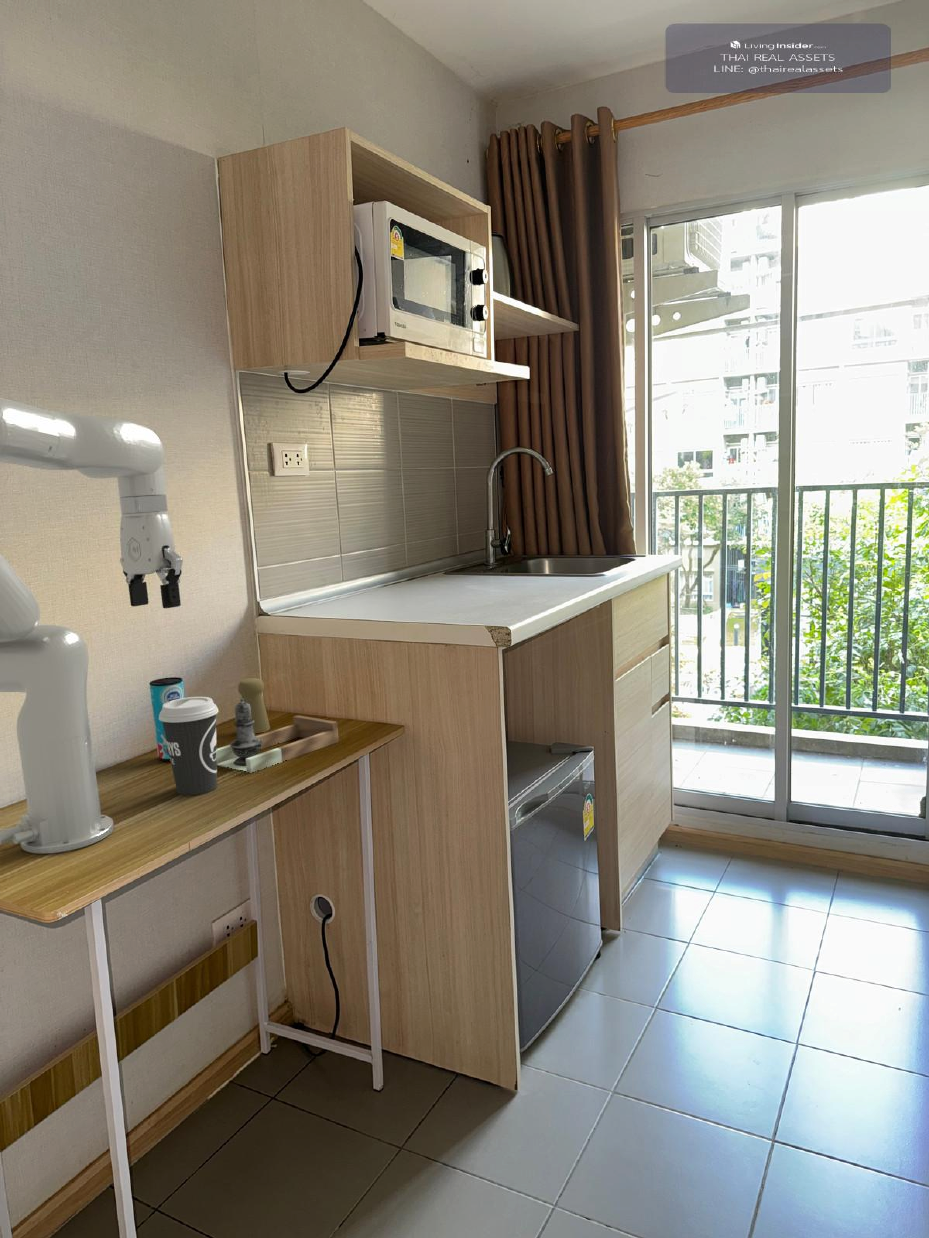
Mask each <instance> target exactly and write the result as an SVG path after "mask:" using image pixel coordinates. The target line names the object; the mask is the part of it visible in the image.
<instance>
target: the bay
mask: <svg viewBox="0 0 929 1238" xmlns="http://www.w3.org/2000/svg"><path fill="white" fill-rule="evenodd" d="M338 727H339V726H338V721H334V720H328V719H321V718H317V717H316V718H315V717H310V716H305V715H298V714H297V715H294V716H293V723H292V724H290V725H287V726H284V727H280V728H278V729H274V730H271V731H269V732H268V731H267V732H264V733H260V734H257V735H255V737H256V738H259V739H262V740H263V742H262V743H261V750H263V749H266V748H269V746H270V747H274V746H276V745H279V744H281V743H285V742H288V741H290V740H293V739H297V738H302V739H299V740H296V741H293V742H291V743H287V744H284V745H281V746H279V747H276V748H273V749H269V750H267V751H264V752H261V753H258V754H257V755H255V756H252V757H249V758H246V766H236V765H234V763H233V762H234V761H235V760H236V759H238V758H240V757H238V756H236V755H235V754H234V753H233V751H232V747H230V744H227V745H225V746H222V747H219V748H218V747H217V748H216V752H217V766H219V767H222V768H227V767H229V768H228V769H231V768H232V770H235V769H236V771H240V770H243V771H242V772H244V771H246V772H245V773H248V772H249V774H253V773H252V772H254V773H256V772H258V771H257V770H259V771H262V770H265V769H267V768H270V767H273V766H275V764H276V765H278V764H277V763H279V764H281V763H284V762H286V761H285V760H287V761H289V760H293V759H295V758H298V757H300V756H303V755H306V754H309V753H312V752H315V751H317V750H320V749H322V748H326V747H328V746H331V745H334V744H336V743H339V742H340V741H339V728H338ZM278 743H279V744H278ZM283 761H284V762H283ZM272 765H273V766H272ZM266 767H267V768H266ZM264 768H265V769H264ZM255 771H256V772H255Z"/></svg>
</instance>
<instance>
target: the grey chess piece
mask: <svg viewBox="0 0 929 1238" xmlns="http://www.w3.org/2000/svg"><path fill="white" fill-rule="evenodd" d="M243 700H244V699H243V698H242V697H241V698H240V700H239V701H240V702H239V703H237V704H236V705H235V706H234V713H235V722H234V723H233V725H235V726H236V737H235V740H234V741H232V742H230V744H229V745H230V747H232V751H233V753H234V754H235V755H236V756H238V757H240V758H238V759H236V760H235V761H234V762H233V763H234V765H236V766H246V758H249V757H252V756H255V755H258V754H260V753H259V752H260V751H261V750H262V749H261V743H262V742H263V740H262V739H259V738H256V737H255V736H256V734H254V732H253V723H254V720H252V716H251V707H250V705H249V704H248V703H245V702H243ZM260 749H261V750H260Z"/></svg>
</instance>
